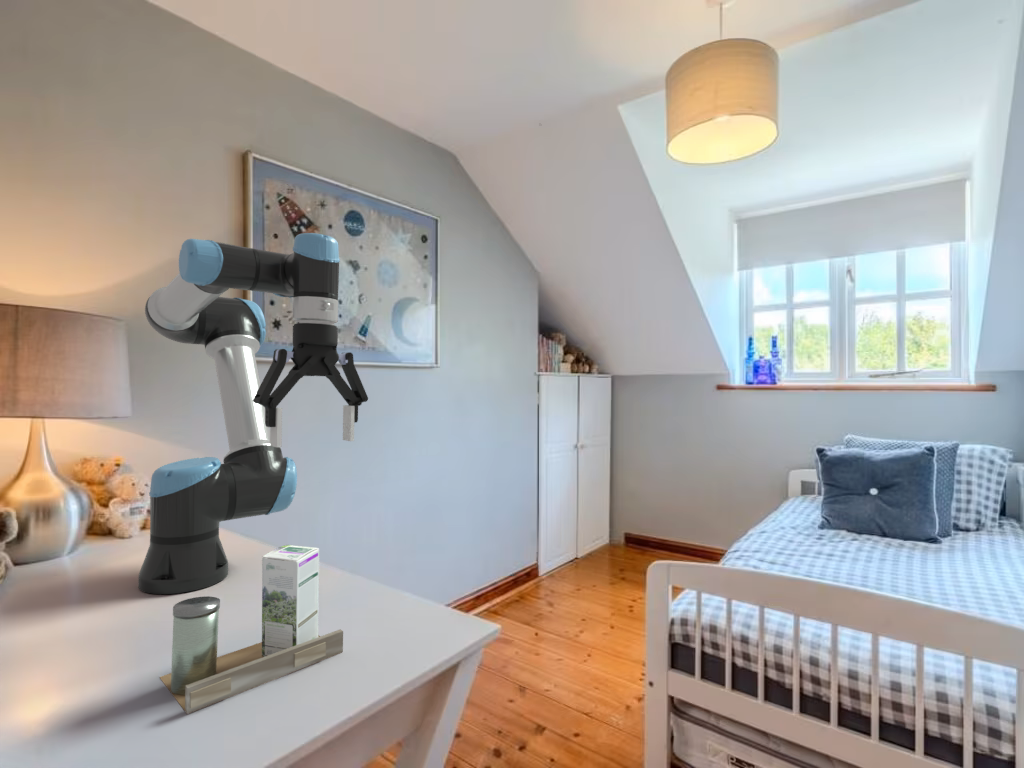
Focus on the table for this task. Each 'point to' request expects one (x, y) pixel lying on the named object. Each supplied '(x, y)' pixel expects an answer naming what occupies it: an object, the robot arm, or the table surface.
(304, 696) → the table surface
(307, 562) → the syrup box
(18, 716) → the table surface
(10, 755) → the table surface
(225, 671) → the shelf board
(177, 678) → the sage tin
